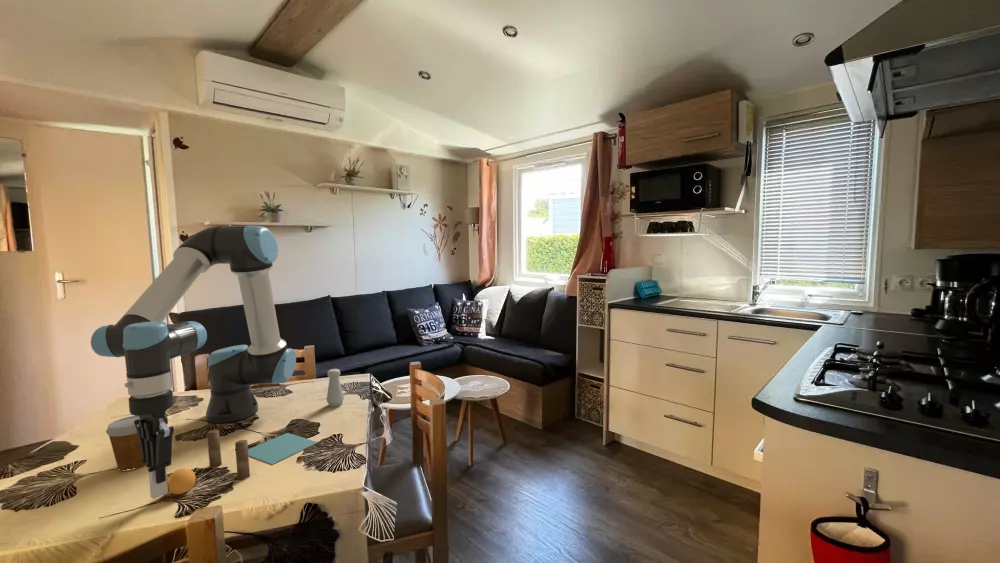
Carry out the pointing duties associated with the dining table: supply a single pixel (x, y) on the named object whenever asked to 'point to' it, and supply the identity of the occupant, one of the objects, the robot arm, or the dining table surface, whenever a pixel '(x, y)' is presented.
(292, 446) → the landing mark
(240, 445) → the outer post
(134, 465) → the disposable coffee cup
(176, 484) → the ball
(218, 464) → the inner post
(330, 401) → the salt shaker
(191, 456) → the dining table surface
